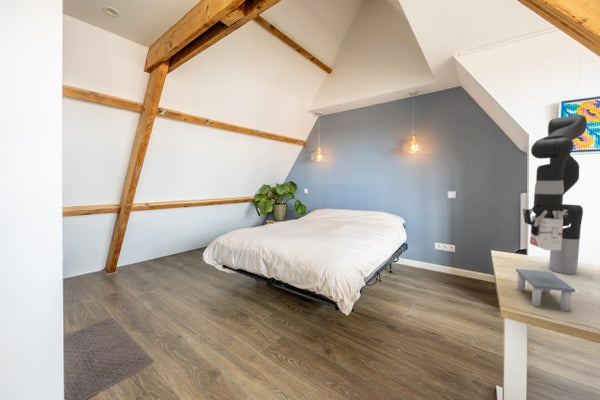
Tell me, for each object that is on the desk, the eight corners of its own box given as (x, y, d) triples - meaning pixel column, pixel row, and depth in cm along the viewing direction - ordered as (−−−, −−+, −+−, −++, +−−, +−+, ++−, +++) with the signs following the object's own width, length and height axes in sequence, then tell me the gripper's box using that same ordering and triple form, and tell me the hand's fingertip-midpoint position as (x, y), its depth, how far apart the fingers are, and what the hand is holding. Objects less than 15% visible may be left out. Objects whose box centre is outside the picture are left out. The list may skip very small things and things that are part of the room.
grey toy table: (515, 287, 103) (516, 268, 102) (548, 291, 99) (550, 272, 98) (532, 306, 89) (534, 284, 88) (573, 312, 84) (575, 289, 83)
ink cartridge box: (528, 243, 96) (531, 208, 95) (543, 244, 95) (545, 208, 94) (545, 250, 88) (548, 211, 86) (561, 250, 87) (565, 211, 85)
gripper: (568, 191, 90) (565, 234, 91) (519, 191, 96) (517, 232, 97) (581, 193, 83) (577, 239, 85) (528, 193, 89) (525, 237, 91)
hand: (545, 235), depth 91 cm, fingers closed on ink cartridge box, 5 cm apart
